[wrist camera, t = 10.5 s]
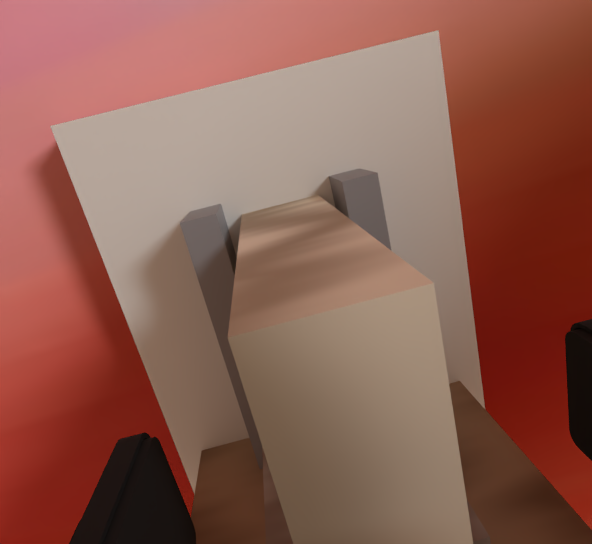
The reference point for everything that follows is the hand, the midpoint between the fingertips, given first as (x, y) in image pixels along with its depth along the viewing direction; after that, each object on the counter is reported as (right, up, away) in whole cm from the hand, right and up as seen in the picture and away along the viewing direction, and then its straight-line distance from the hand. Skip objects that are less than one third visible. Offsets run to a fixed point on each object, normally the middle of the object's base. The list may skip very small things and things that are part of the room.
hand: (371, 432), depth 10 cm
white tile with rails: (-1, +2, +10) cm, 10 cm away
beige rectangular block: (-1, +2, +8) cm, 9 cm away
